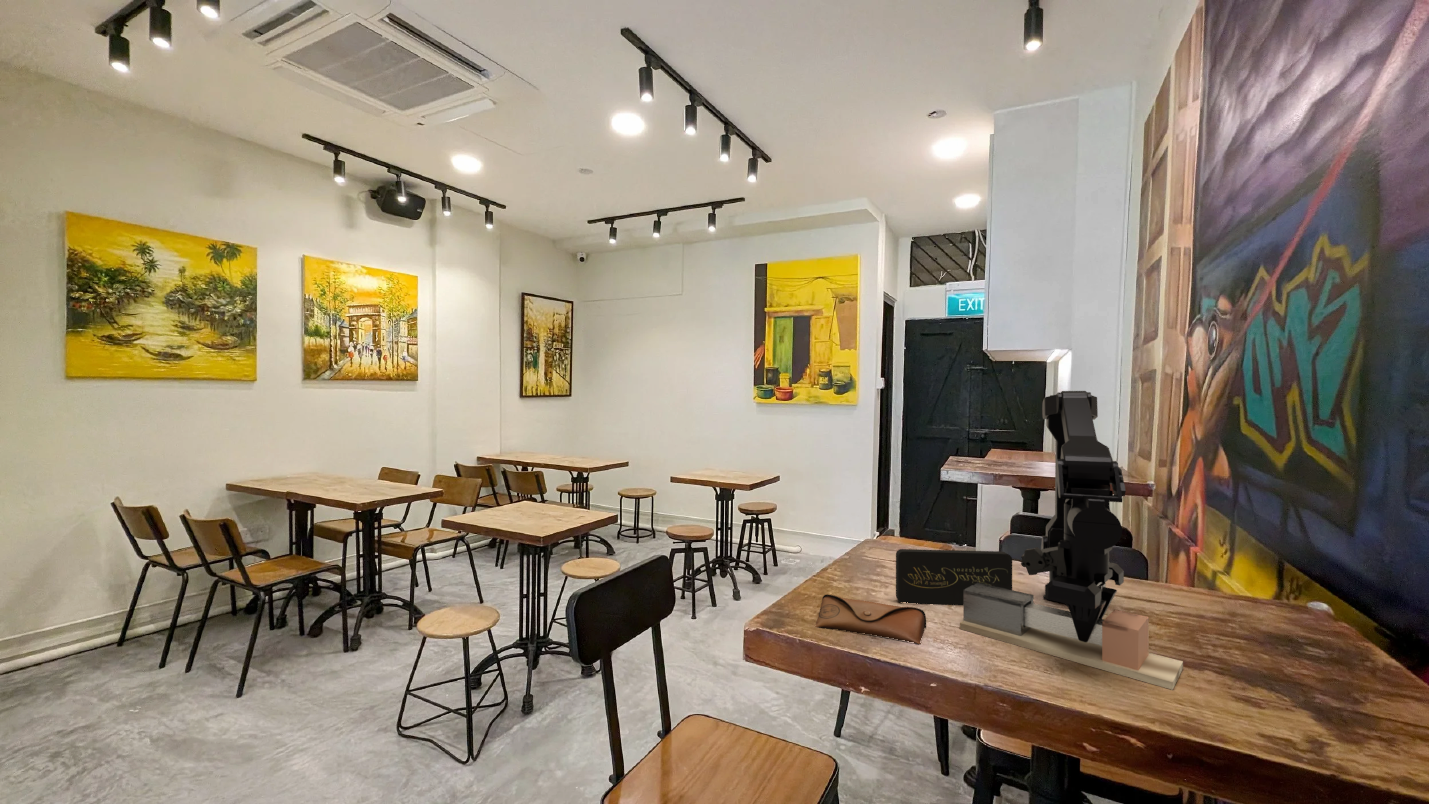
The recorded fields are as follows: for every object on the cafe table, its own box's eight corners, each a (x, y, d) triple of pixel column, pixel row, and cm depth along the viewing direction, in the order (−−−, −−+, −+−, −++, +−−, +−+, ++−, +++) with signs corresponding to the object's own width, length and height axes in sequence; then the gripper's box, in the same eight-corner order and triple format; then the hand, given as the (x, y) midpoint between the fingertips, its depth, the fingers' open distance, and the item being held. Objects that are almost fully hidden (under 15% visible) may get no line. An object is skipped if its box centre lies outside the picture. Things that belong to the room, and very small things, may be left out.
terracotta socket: (1114, 645, 86) (1114, 609, 86) (1148, 654, 83) (1148, 617, 83) (1102, 660, 81) (1102, 621, 81) (1138, 670, 78) (1138, 630, 78)
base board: (981, 615, 101) (981, 609, 101) (1183, 668, 81) (1182, 661, 81) (959, 628, 95) (959, 622, 95) (1172, 689, 74) (1172, 682, 74)
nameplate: (1007, 604, 107) (1007, 551, 107) (1012, 607, 105) (1012, 554, 105) (895, 600, 109) (895, 548, 109) (898, 604, 107) (898, 551, 107)
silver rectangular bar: (1008, 615, 95) (1008, 597, 95) (1132, 646, 82) (1132, 626, 82) (1002, 619, 93) (1002, 601, 93) (1128, 652, 80) (1128, 631, 80)
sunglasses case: (810, 627, 95) (815, 587, 98) (818, 635, 100) (822, 597, 104) (924, 645, 88) (925, 602, 91) (926, 653, 93) (927, 612, 96)
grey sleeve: (977, 611, 100) (977, 582, 100) (1033, 626, 93) (1033, 594, 93) (963, 620, 96) (963, 589, 96) (1020, 636, 89) (1020, 603, 89)
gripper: (1046, 519, 98) (1046, 609, 98) (1007, 535, 85) (1006, 639, 85) (1124, 529, 90) (1124, 627, 89) (1094, 549, 77) (1094, 664, 77)
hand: (1086, 638), depth 85 cm, fingers closed on silver rectangular bar, 3 cm apart
